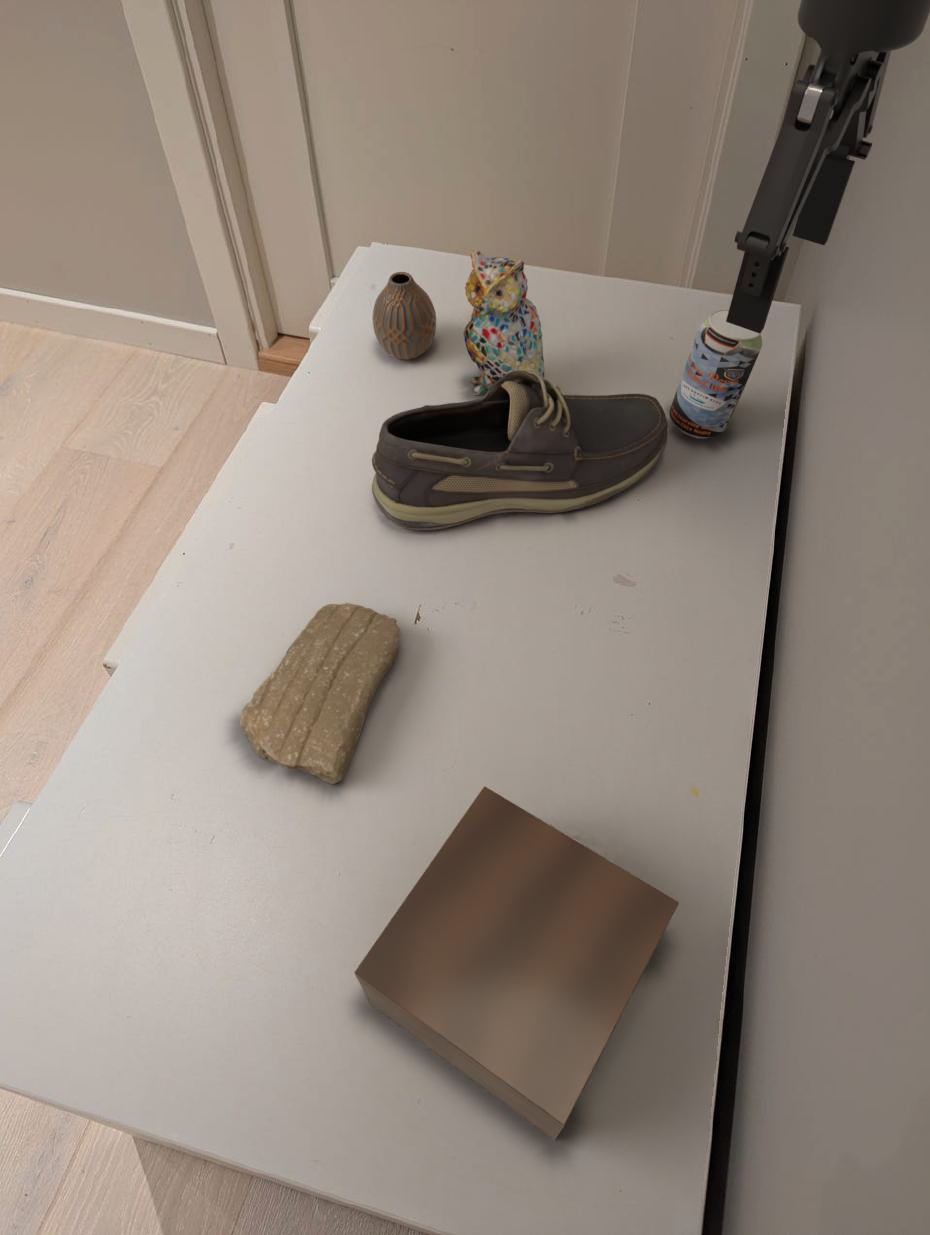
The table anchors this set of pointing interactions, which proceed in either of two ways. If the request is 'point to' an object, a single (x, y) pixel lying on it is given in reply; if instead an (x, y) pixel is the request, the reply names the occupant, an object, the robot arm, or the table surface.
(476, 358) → the figurine
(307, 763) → the decorative stone
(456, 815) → the table surface
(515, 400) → the boat shoe
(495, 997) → the walnut shelf
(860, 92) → the robot arm
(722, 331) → the beverage can
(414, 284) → the vase
